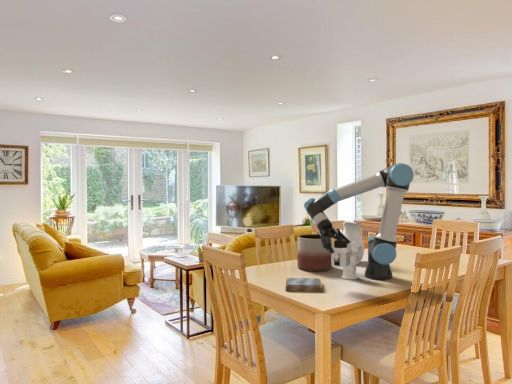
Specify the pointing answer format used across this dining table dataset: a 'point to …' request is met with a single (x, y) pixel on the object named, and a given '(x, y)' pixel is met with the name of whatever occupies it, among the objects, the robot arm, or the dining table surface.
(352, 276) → the cherub figurine
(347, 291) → the dining table surface
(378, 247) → the robot arm
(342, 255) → the container
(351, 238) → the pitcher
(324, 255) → the planter
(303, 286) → the wooden framed tray
